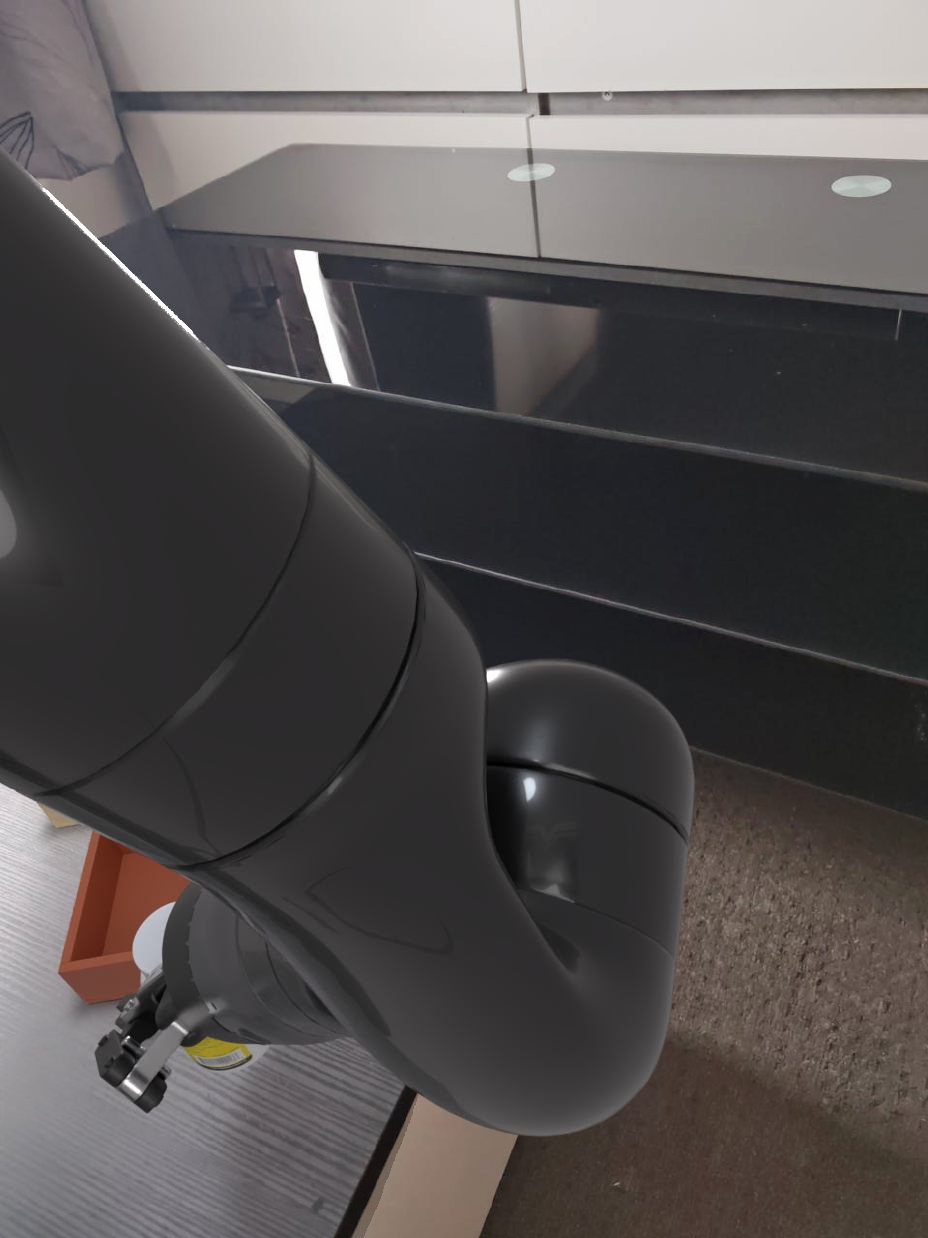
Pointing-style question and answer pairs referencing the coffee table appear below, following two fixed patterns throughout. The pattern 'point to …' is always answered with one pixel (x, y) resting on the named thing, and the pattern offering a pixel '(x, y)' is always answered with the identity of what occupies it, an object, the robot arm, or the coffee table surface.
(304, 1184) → the coffee table surface
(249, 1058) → the supplement bottle
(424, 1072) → the robot arm
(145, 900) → the terracotta bin
